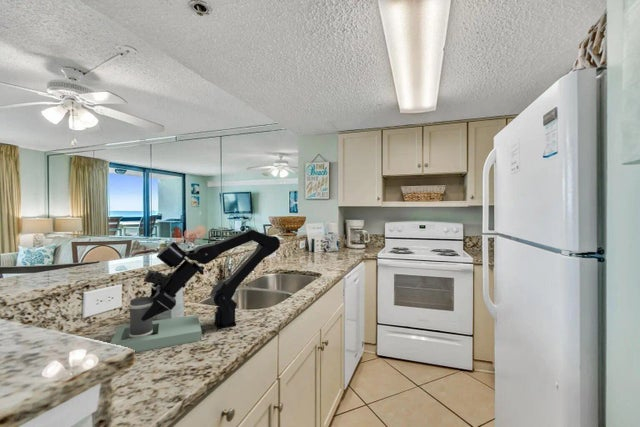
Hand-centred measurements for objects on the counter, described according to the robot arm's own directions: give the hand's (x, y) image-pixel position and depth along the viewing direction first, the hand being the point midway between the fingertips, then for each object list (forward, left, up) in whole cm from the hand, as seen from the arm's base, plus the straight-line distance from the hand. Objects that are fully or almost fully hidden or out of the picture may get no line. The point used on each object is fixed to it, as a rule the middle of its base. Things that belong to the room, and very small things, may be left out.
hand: (142, 315), depth 90 cm
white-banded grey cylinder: (0, 0, -8) cm, 8 cm away
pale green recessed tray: (-5, 0, -8) cm, 9 cm away
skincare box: (-8, -17, -8) cm, 20 cm away
